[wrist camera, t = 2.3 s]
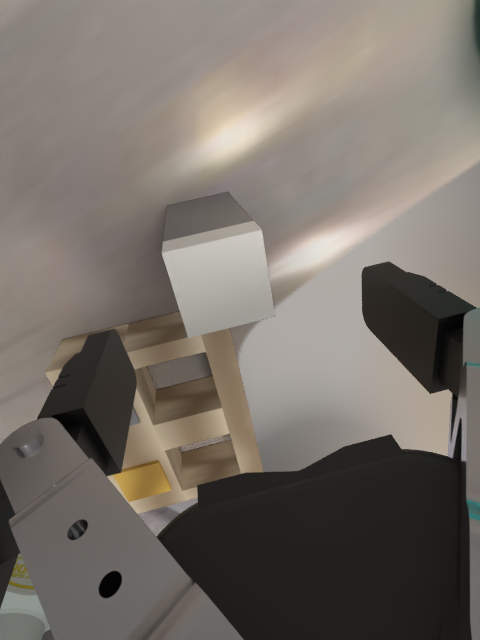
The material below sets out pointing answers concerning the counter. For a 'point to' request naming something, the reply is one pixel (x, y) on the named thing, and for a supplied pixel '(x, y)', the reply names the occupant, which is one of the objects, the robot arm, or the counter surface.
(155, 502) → the socket block
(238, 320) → the plug
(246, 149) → the counter surface
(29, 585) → the air freshener
